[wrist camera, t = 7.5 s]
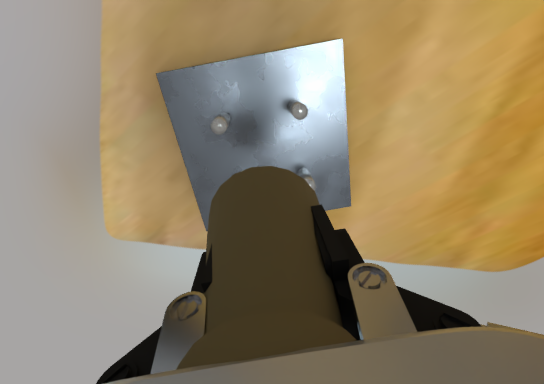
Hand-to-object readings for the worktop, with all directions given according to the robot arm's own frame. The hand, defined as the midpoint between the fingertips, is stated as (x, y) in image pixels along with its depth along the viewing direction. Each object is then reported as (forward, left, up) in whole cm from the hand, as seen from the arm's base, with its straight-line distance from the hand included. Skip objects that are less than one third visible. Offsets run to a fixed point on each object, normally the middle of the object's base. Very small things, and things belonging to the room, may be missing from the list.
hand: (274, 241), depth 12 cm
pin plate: (0, 0, -19) cm, 19 cm away
